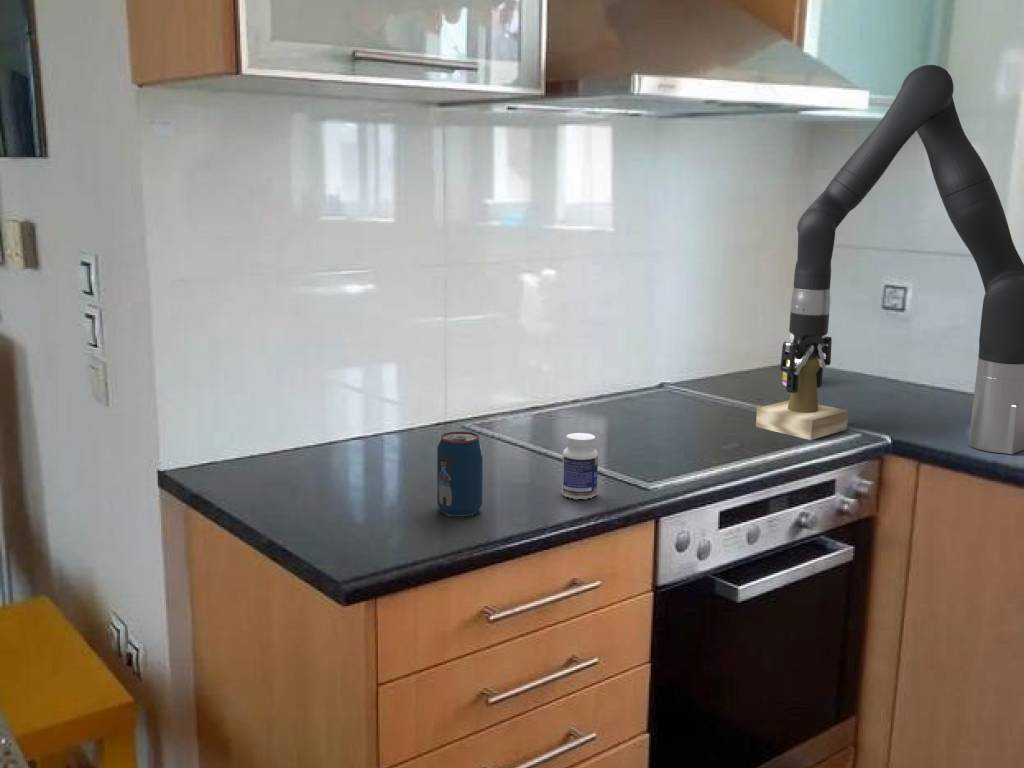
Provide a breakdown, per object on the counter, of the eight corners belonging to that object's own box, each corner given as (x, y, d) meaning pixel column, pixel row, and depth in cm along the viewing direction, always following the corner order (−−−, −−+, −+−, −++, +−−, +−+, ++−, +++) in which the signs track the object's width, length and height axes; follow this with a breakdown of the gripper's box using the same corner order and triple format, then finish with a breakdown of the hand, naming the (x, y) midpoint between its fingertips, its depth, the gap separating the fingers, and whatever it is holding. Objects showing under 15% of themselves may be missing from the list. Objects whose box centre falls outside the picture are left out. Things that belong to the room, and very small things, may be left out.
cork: (824, 411, 210) (828, 358, 208) (799, 413, 208) (804, 360, 206) (805, 404, 216) (809, 352, 213) (781, 407, 214) (785, 354, 211)
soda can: (486, 505, 163) (486, 431, 161) (477, 520, 157) (477, 443, 154) (442, 502, 164) (442, 429, 162) (432, 517, 158) (432, 440, 155)
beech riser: (846, 429, 212) (848, 410, 211) (810, 440, 204) (812, 420, 203) (792, 417, 222) (793, 399, 221) (755, 426, 213) (757, 407, 213)
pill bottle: (602, 499, 167) (604, 439, 165) (568, 502, 165) (570, 441, 163) (589, 488, 172) (591, 430, 170) (556, 491, 171) (558, 432, 169)
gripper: (805, 316, 200) (799, 397, 204) (846, 309, 210) (839, 388, 213) (773, 311, 206) (767, 391, 209) (813, 305, 215) (808, 382, 219)
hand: (804, 389), depth 211 cm, fingers open, 8 cm apart
